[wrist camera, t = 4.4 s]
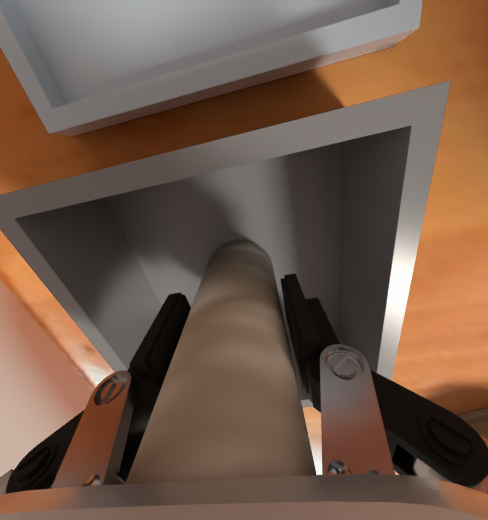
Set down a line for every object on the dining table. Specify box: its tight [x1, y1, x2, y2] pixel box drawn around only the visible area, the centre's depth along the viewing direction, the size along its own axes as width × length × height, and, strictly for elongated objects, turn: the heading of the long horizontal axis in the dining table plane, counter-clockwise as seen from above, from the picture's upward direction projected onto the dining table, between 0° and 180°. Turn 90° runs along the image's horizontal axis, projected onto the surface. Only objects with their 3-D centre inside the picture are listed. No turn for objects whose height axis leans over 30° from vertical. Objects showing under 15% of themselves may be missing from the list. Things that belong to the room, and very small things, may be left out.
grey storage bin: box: [0, 81, 451, 407], centre depth 12 cm, size 15×15×6 cm
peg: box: [125, 240, 316, 484], centre depth 9 cm, size 4×4×11 cm
